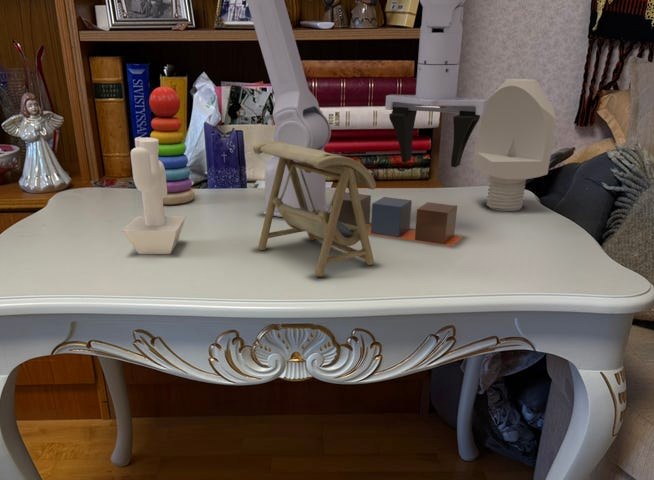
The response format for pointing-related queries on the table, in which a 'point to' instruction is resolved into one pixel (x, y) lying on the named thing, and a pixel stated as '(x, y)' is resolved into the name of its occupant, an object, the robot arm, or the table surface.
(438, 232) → the walnut block
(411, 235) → the line strip
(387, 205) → the slate block
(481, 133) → the beige tall piece
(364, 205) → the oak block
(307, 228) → the swing bench
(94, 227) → the table surface
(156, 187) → the figurine
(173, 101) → the stacking toy
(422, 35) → the robot arm
